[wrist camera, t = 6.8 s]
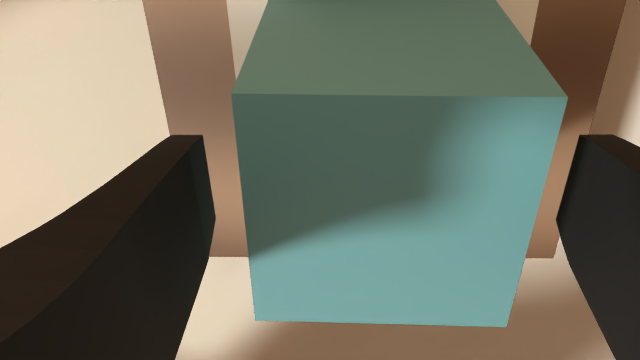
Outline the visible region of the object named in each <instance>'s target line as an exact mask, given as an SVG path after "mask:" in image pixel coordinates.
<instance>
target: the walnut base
mask: <svg viewBox="0 0 640 360" xmlns="http://www.w3.org/2000/svg"><path fill="white" fill-rule="evenodd" d="M142 1H143V6H144V11H145V16H146V20H147V25H148V30H149V35H150V40H151V45H152V50H153V55H154V59H155V64H156V69H157V74H158V79H159V84H160V89H161V94H162V98H163V103H164V108H165V113H166V118H167V123H168V128H169V133H170V136H171V135H203V139H204V146H205V152H206V158H207V164H208V171H209V177H210V183H211V190H212V196H213V202H214V208H215V215H216V221H215V227H214V233H213V238H212V244H211V249H210V254H209V257H248V248H247V238H246V229H245V219H244V210H243V201H242V191H241V182H240V173H239V163H238V154H237V145H236V135H235V126H234V117H233V107H232V98H231V93H232V90H233V88H234V85H235V83H236V80H237V77H238V75H239V72H240V70H241V67H242V65H243V62H244V60H245V57H246V55H247V52H248V50H249V47H250V45H251V42H252V40H253V37H254V35H255V32H256V30H257V27H258V25H259V22H260V20H261V17H262V15H263V12H264V10H265V7H266V5H267V2H268V0H142ZM496 1H497V2H498V4H499V5H500V7H501V8H502V9H503V11H504V12H505V13H506V15H507V16H508V17H509V19H510V20H511V21H512V23H513V24H514V25H515V27H516V28H517V29H518V31H519V32H520V33H521V35H522V36H523V37H524V39H525V40H526V41H527V43H528V44H529V45H530V47H531V48H532V49H533V51H534V52H535V53H536V55H537V56H538V57H539V59H540V60H541V62H542V63H543V64H544V66H545V67H546V68H547V70H548V71H549V72H550V74H551V75H552V76H553V78H554V79H555V80H556V82H557V83H558V84H559V86H560V87H561V88H562V90H563V91H564V92H565V94H566V95H567V96H568V100H567V104H566V108H565V112H564V115H563V119H562V123H561V126H560V130H559V134H558V138H557V141H556V145H555V149H554V152H553V156H552V160H551V164H550V167H549V171H548V175H547V178H546V182H545V186H544V190H543V193H542V197H541V201H540V204H539V208H538V212H537V216H536V219H535V223H534V227H533V230H532V234H531V238H530V242H529V245H528V249H527V253H526V256H525V258H554V254H555V251H556V247H557V243H558V240H559V236H560V233H559V230H558V227H557V223H556V217H557V213H558V210H559V206H560V203H561V199H562V195H563V192H564V188H565V185H566V181H567V178H568V174H569V170H570V167H571V163H572V160H573V156H574V152H575V149H576V145H577V142H578V138H579V135H588V134H589V130H590V127H591V123H592V120H593V116H594V112H595V109H596V105H597V102H598V98H599V95H600V91H601V88H602V84H603V81H604V77H605V74H606V70H607V66H608V63H609V59H610V56H611V52H612V49H613V45H614V42H615V38H616V35H617V31H618V28H619V24H620V20H621V17H622V13H623V10H624V6H625V3H626V0H496Z"/></svg>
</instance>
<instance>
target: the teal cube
mask: <svg viewBox="0 0 640 360" xmlns="http://www.w3.org/2000/svg"><path fill="white" fill-rule="evenodd" d="M231 98H232V107H233V117H234V126H235V135H236V145H237V154H238V163H239V173H240V182H241V191H242V201H243V210H244V219H245V229H246V238H247V248H248V257H249V266H250V276H251V285H252V294H253V304H254V313H255V320H257V321H295V322H332V323H369V324H407V325H444V326H481V327H507V323H508V319H509V316H510V312H511V308H512V305H513V301H514V297H515V293H516V290H517V286H518V282H519V279H520V275H521V271H522V268H523V264H524V260H525V256H526V253H527V249H528V245H529V242H530V238H531V234H532V230H533V227H534V223H535V219H536V216H537V212H538V208H539V204H540V201H541V197H542V193H543V190H544V186H545V182H546V178H547V175H548V171H549V167H550V164H551V160H552V156H553V152H554V149H555V145H556V141H557V138H558V134H559V130H560V126H561V123H562V119H563V115H564V112H565V108H566V104H567V100H568V96H567V95H566V94H565V92H564V91H563V90H562V88H561V87H560V86H559V84H558V83H557V82H556V80H555V79H554V78H553V76H552V75H551V74H550V72H549V71H548V70H547V68H546V67H545V66H544V64H543V63H542V62H541V60H540V59H539V57H538V56H537V55H536V53H535V52H534V51H533V49H532V48H531V47H530V45H529V44H528V43H527V41H526V40H525V39H524V37H523V36H522V35H521V33H520V32H519V31H518V29H517V28H516V27H515V25H514V24H513V23H512V21H511V20H510V19H509V17H508V16H507V15H506V13H505V12H504V11H503V9H502V8H501V7H500V5H499V4H498V2H497V1H496V0H268V2H267V5H266V7H265V10H264V12H263V15H262V17H261V20H260V22H259V25H258V27H257V30H256V32H255V35H254V37H253V40H252V42H251V45H250V47H249V50H248V52H247V55H246V57H245V60H244V62H243V65H242V67H241V70H240V72H239V75H238V77H237V80H236V83H235V85H234V88H233V90H232V93H231Z"/></svg>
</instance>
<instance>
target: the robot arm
mask: <svg viewBox="0 0 640 360" xmlns="http://www.w3.org/2000/svg"><path fill="white" fill-rule="evenodd" d="M215 221H216V215H215V208H214V202H213V196H212V190H211V183H210V177H209V171H208V164H207V158H206V152H205V146H204V139H203V135H171V136H169V137H168V138H166V139H165V140H163V141H162V142H160V143H159V144H158V145H156V146H155V147H153V148H152V149H151V150H149V151H148V152H147V153H146V154H144V155H143V156H142V157H140V158H139V159H138V160H136V161H135V162H134V163H132V164H131V165H130V166H128V167H127V168H126V169H124V170H123V171H122V172H120V173H119V174H118V175H116V176H115V177H114V178H112V179H111V180H110V181H108V182H107V183H106V184H104V185H103V186H101V187H100V188H98V189H97V190H95V191H94V192H92V193H91V194H89V195H88V196H87V197H85V198H84V199H82V200H81V201H79V202H78V203H76V204H75V205H73V206H72V207H70V208H69V209H67V210H66V211H64V212H63V213H61V214H60V215H58V216H56V217H55V218H53V219H52V220H50V221H48V222H47V223H45V224H43V225H42V226H40V227H38V228H36V229H35V230H33V231H31V232H29V233H27V234H26V235H24V236H22V237H20V238H18V239H16V240H15V241H13V242H11V243H9V244H7V245H5V246H3V247H1V248H0V360H175V358H176V354H177V352H178V349H179V346H180V343H181V340H182V337H183V334H184V331H185V328H186V325H187V322H188V319H189V316H190V313H191V311H192V308H193V305H194V302H195V299H196V296H197V293H198V290H199V287H200V284H201V281H202V278H203V275H204V272H205V269H206V266H207V262H208V259H209V254H210V249H211V244H212V238H213V233H214V227H215ZM556 223H557V227H558V230H559V233H560V237H561V240H562V244H563V247H564V250H565V253H566V256H567V259H568V262H569V265H570V267H571V269H572V271H573V273H574V275H575V278H576V280H577V282H578V284H579V286H580V288H581V290H582V292H583V294H584V296H585V298H586V300H587V302H588V304H589V306H590V308H591V310H592V312H593V314H594V317H595V319H596V321H597V323H598V325H599V327H600V329H601V331H602V333H603V335H604V337H605V339H606V341H607V343H608V345H609V347H610V349H611V351H612V353H613V355H614V357H615V359H616V360H640V147H638V146H636V145H634V144H632V143H630V142H628V141H626V140H624V139H622V138H619V137H617V136H615V135H579V138H578V142H577V145H576V149H575V152H574V156H573V160H572V163H571V167H570V170H569V174H568V178H567V181H566V185H565V188H564V192H563V195H562V199H561V203H560V206H559V210H558V213H557V217H556Z"/></svg>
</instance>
